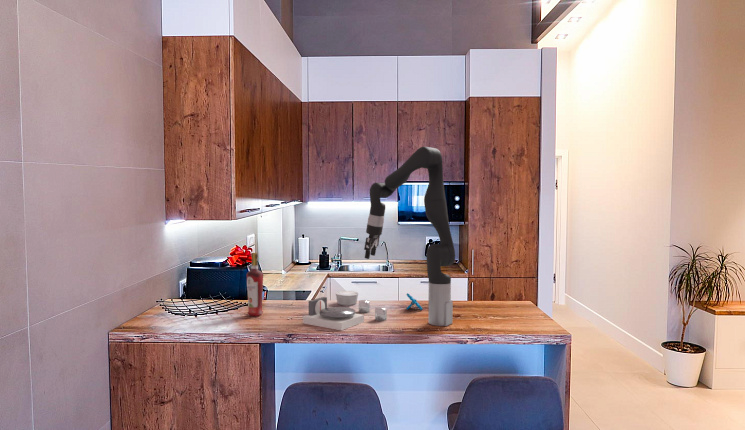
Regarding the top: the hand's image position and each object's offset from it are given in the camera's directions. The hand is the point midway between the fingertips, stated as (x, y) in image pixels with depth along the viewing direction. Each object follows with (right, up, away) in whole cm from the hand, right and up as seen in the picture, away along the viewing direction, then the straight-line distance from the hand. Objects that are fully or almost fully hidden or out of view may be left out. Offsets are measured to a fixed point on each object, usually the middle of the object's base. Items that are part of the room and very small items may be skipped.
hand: (369, 256), depth 249 cm
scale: (-15, -25, -30) cm, 42 cm away
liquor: (-51, -25, -18) cm, 59 cm away
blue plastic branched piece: (+21, -24, -6) cm, 33 cm away
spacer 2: (+5, -25, -26) cm, 36 cm away
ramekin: (-11, -24, +6) cm, 27 cm away
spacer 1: (-2, -24, -11) cm, 27 cm away
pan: (-13, -21, -32) cm, 40 cm away
